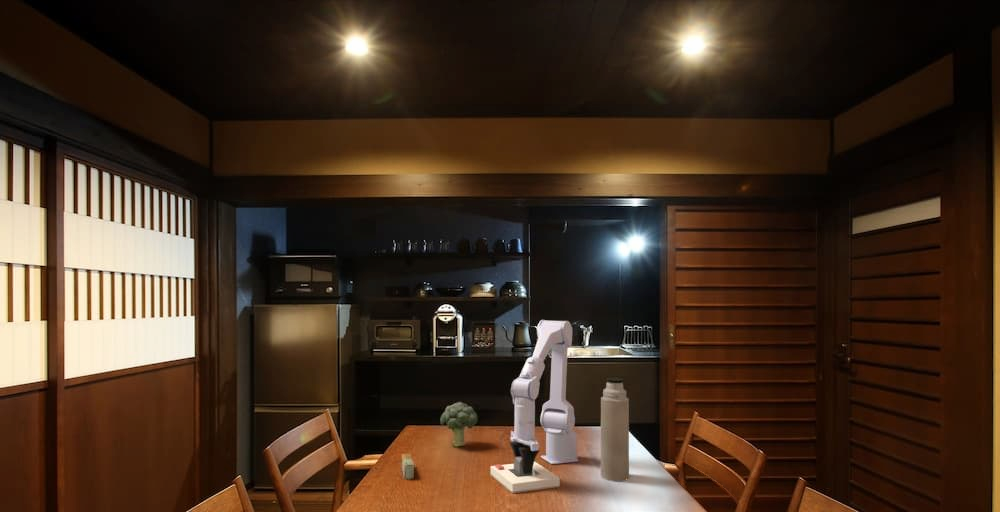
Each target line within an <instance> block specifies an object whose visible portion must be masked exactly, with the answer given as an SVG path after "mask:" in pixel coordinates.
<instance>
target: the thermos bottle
mask: <svg viewBox="0 0 1000 512" xmlns="http://www.w3.org/2000/svg"><path fill="white" fill-rule="evenodd" d="M605 382H606V384H605V385H606V386H605V388H604V389H603V391H602V395H603V396H601V397H600V478H602V477H603V478H602V479H604V478H605V479H604V480H606V479H608V480H607V481H610V480H614V481H613V482H624V481H623V480H625V481H627V480H626V479H628V478H630V451H629V450H630V447H629V446H630V442H629V441H630V435H629V432H630V418H629V416H630V415H629V414H630V413H629V411H630V410H629V409H630V402H629V401H630V400H629V398H628V397H627V390H625V389H624V384H623V383H624V379H623V378H619V377H609V378H608V377H607V378H606V381H605ZM628 480H629V479H628Z"/></svg>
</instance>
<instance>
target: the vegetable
mask: <svg viewBox="0 0 1000 512" xmlns="http://www.w3.org/2000/svg"><path fill="white" fill-rule="evenodd" d="M478 419H479V418H478V414H477V412H475V410H474V408H473V407H472V406H469V405H468V404H466V403H464V402H461V401H458V402H456V403H455V402H454V403H453V404H452V405H447V406H446V408H445V410H444V412H443V413H442V414H441V415H440V419H439V420H440V425H441V426H445V425H447V428H448V429H449V430H451V431H452V432H453V434H454V435H453V443H452V445H453V447H461V446H465V445H466V442H465V432H464V431H465V428H466V427H467V428H468V429H472V428H473V426H475V424H477V423H478Z"/></svg>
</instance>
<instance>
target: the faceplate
mask: <svg viewBox="0 0 1000 512" xmlns="http://www.w3.org/2000/svg"><path fill="white" fill-rule="evenodd" d="M489 474H490V476H491V477H493V478H494V479H495V481H498V482H499V483H500V484H501V485H502V486H503V487H504V488H506V489H507V490H508V491H510V493H512V494H517V493H525V492H532V491H539V490H546V489H553V488H560V485H561V484H560V483H561V482H560V477H559V476H557V475H556V474H555V473H553V472H551V471H550V470H548V469H547V468H546V467H544V466H542V465H540V464H539V463H538V462H536V460H534V464H533V475H531V476H523V477H517V476H516V475H514V463H507V464H500V463H499V464H498V463H497V464H494V465H490V473H489Z"/></svg>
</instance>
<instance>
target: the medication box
mask: <svg viewBox="0 0 1000 512" xmlns="http://www.w3.org/2000/svg"><path fill="white" fill-rule="evenodd" d="M401 471H403V472H402V475H403V480H412V479H411V478H413V479H414V475H415V474H414V473H415V463H414V461H413V457H412V454H410V453H403V454H402V455H401Z"/></svg>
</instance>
